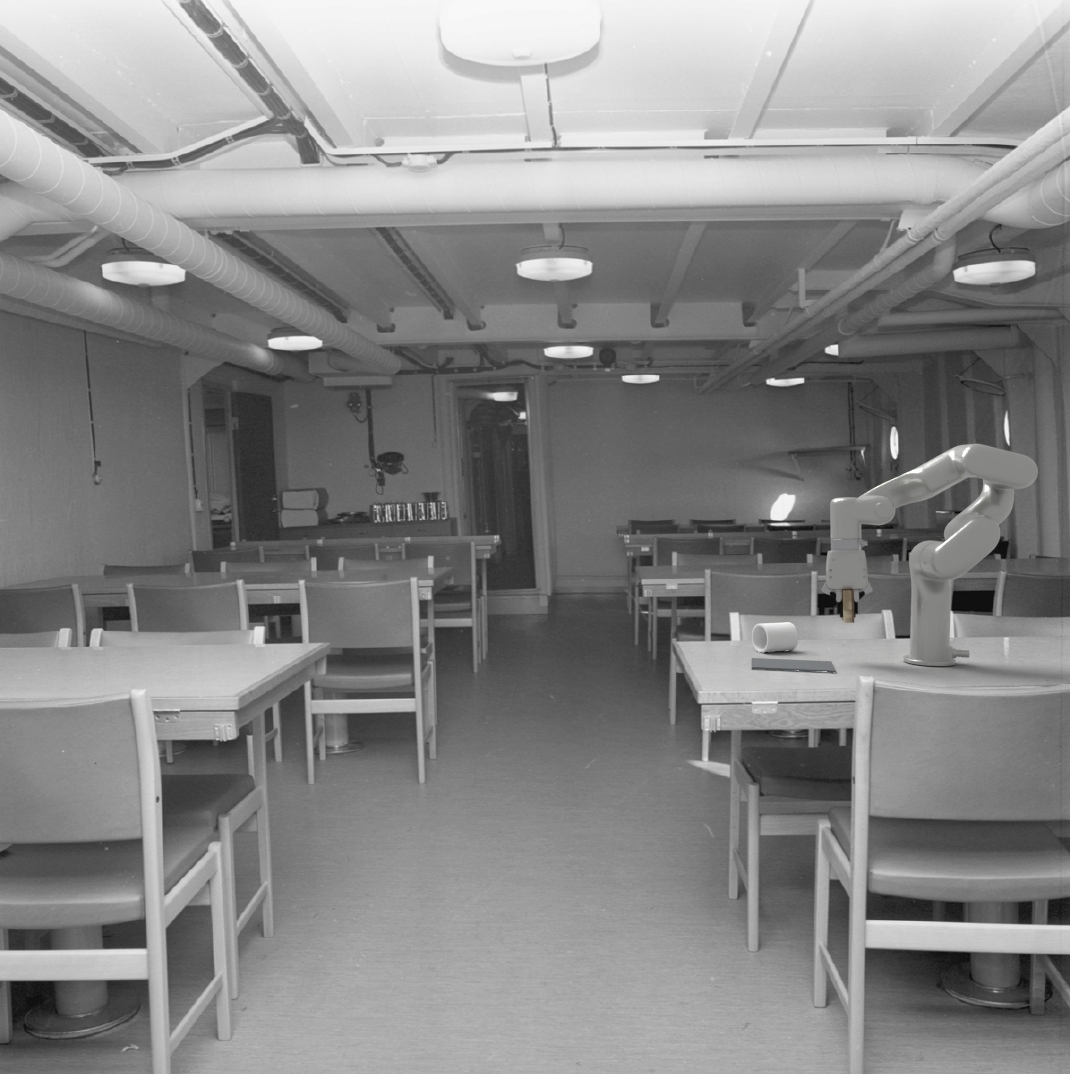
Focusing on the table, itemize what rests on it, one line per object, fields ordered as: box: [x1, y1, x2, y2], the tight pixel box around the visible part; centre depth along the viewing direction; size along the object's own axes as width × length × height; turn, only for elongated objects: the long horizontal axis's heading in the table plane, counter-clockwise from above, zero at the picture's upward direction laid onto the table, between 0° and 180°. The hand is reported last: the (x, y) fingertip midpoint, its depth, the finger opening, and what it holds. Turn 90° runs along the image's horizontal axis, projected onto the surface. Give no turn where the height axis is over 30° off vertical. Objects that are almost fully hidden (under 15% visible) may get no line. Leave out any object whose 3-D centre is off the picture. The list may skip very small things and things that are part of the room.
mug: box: [750, 621, 799, 654], centre depth 276 cm, size 12×10×8 cm
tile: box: [841, 590, 855, 624], centre depth 256 cm, size 2×9×8 cm, turn 168°
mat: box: [751, 657, 837, 673], centre depth 251 cm, size 20×14×1 cm
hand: (847, 616), depth 256 cm, fingers closed on tile, 2 cm apart
